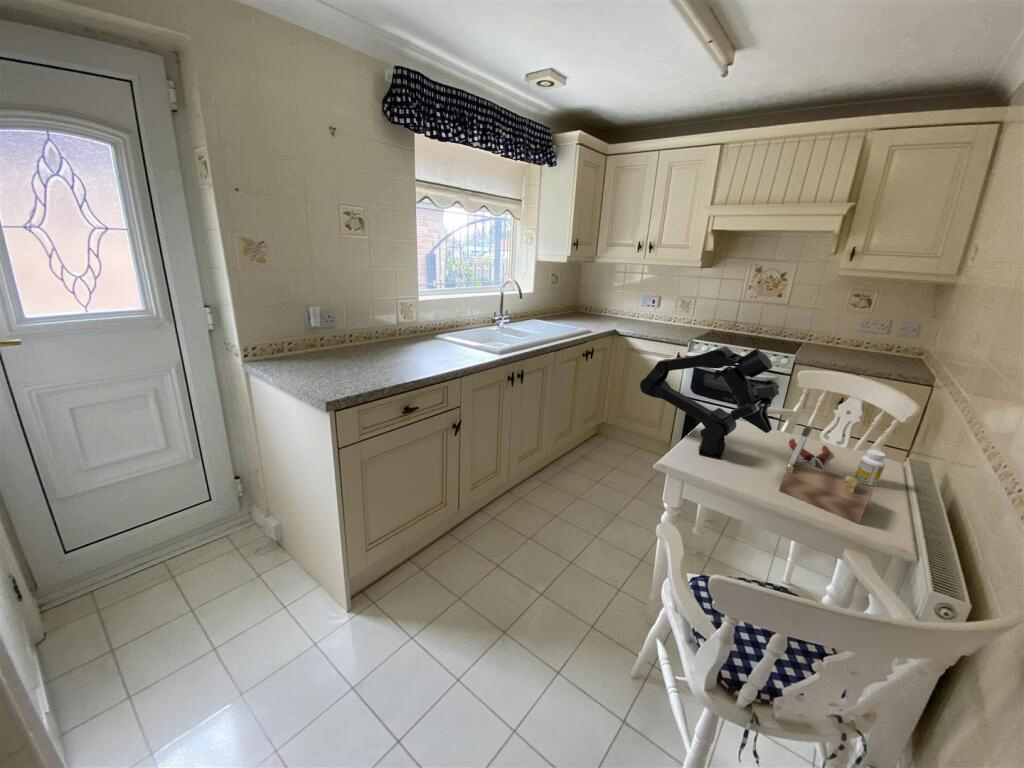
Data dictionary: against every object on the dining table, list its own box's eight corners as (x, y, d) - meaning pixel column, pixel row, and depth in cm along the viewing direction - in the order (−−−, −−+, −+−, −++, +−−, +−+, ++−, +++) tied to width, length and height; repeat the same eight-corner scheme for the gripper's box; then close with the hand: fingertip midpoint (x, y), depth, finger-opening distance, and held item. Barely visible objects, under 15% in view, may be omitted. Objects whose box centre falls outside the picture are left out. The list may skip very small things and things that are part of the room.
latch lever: (790, 469, 117) (786, 467, 118) (795, 465, 120) (790, 463, 120) (808, 431, 112) (803, 429, 113) (812, 427, 115) (807, 425, 115)
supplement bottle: (872, 478, 126) (883, 450, 123) (880, 488, 121) (892, 458, 118) (851, 474, 128) (861, 446, 124) (858, 483, 123) (869, 454, 119)
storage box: (777, 490, 117) (785, 465, 114) (790, 475, 125) (797, 452, 122) (858, 524, 104) (869, 496, 102) (867, 505, 112) (877, 479, 110)
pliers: (796, 469, 129) (799, 462, 129) (787, 443, 147) (789, 436, 146) (840, 480, 125) (843, 472, 124) (825, 451, 142) (828, 445, 141)
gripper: (752, 378, 113) (786, 429, 109) (774, 366, 125) (806, 412, 121) (716, 396, 121) (747, 444, 117) (741, 383, 133) (769, 427, 129)
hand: (769, 431), depth 121 cm, fingers closed
